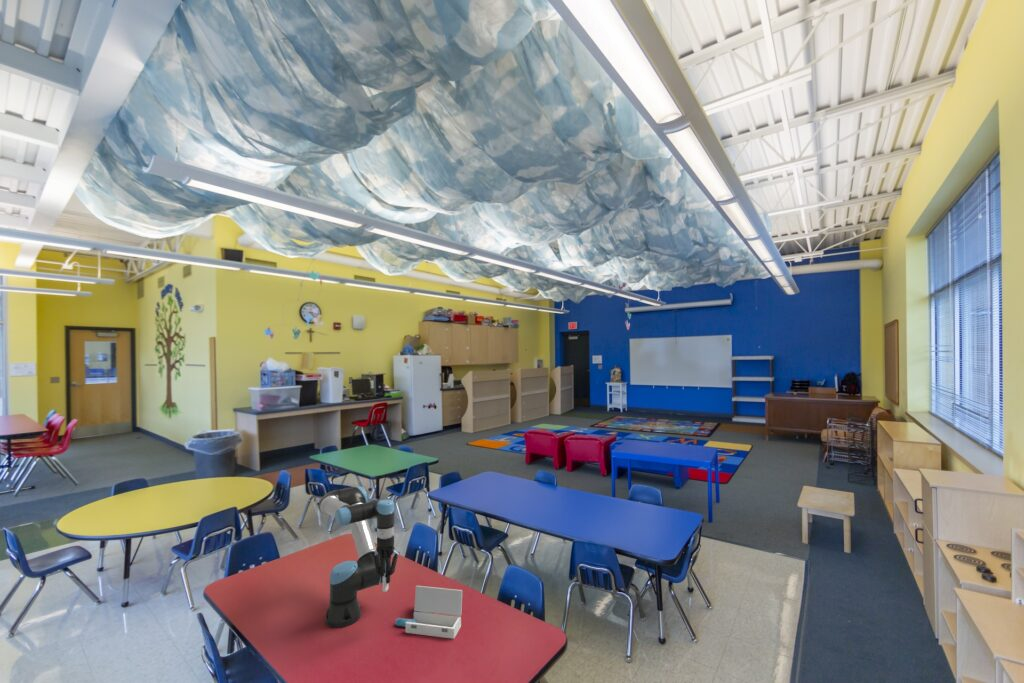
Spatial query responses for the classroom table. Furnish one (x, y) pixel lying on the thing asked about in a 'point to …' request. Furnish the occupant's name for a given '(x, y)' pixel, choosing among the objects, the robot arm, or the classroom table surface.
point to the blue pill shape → (403, 621)
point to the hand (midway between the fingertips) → (385, 590)
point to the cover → (438, 600)
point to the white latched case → (434, 629)
